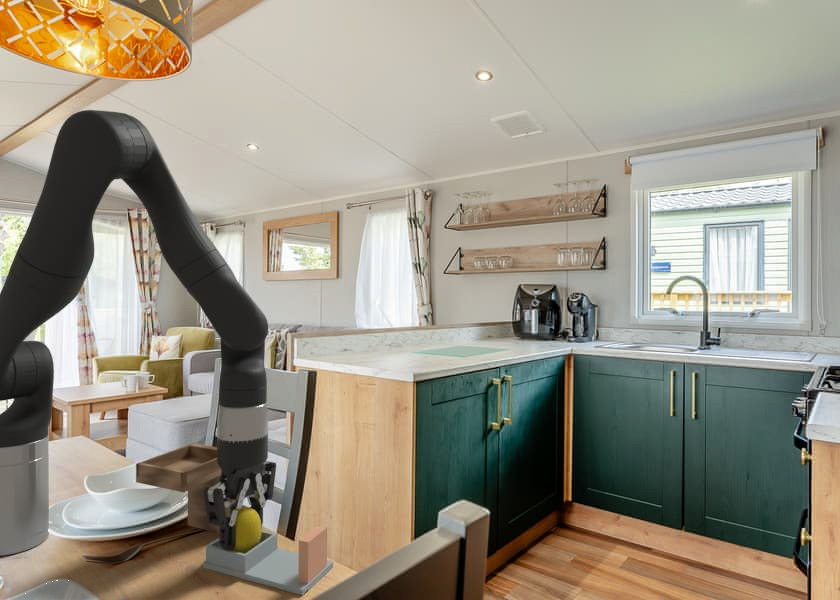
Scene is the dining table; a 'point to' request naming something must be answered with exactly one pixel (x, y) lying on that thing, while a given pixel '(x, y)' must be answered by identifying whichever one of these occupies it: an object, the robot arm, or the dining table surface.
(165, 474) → the shelf
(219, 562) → the grey tray holder base
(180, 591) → the dining table surface
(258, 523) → the lemon
